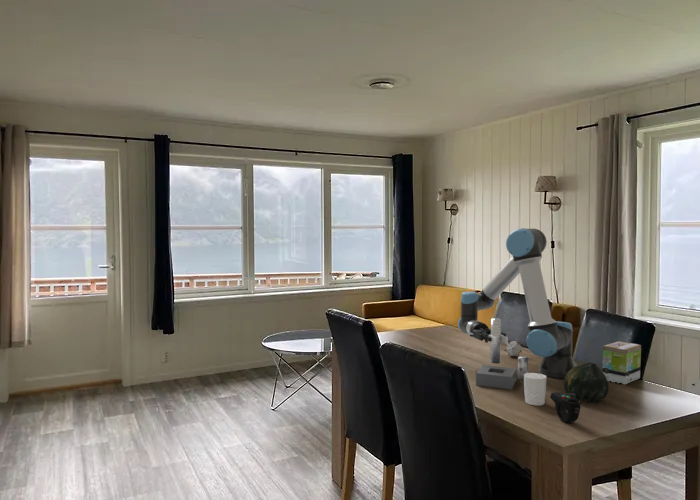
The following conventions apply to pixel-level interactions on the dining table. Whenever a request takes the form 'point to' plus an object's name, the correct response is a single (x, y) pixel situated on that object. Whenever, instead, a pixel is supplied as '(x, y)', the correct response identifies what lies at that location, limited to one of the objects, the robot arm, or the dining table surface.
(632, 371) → the tea box
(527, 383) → the white cup
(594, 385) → the squash
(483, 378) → the charcoal collar block
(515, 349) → the game die
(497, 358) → the long steel pin
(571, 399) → the controller
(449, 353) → the dining table surface
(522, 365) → the short steel pin
